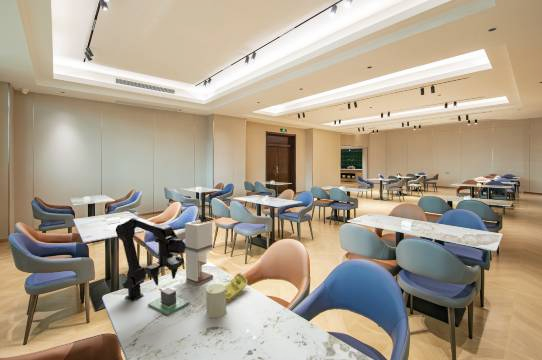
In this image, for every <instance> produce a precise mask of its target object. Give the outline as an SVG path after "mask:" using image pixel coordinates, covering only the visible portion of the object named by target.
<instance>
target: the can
mask: <svg viewBox="0 0 542 360" xmlns="http://www.w3.org/2000/svg"><path fill="white" fill-rule="evenodd" d="M225 286H226V285H224V284H219V283H218V284H216V283H215V284H211V285H209V286H207V287H206V289H205V290H206V316H207V317H208V318H213V319H216V318H221V317H224V316H225V315H226V314H227V302H226V287H225Z"/></svg>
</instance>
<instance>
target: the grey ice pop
mask: <svg viewBox="0 0 542 360" xmlns="http://www.w3.org/2000/svg"><path fill="white" fill-rule="evenodd" d="M158 290H159V291H160V298H161V303H163V304H165V305H167V306H171V305H173V304H175V303H176V297H177V290H174V289H171V288H170V287H166V288H164V289H162V288H159V289H158Z"/></svg>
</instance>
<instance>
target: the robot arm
mask: <svg viewBox="0 0 542 360" xmlns="http://www.w3.org/2000/svg"><path fill="white" fill-rule="evenodd" d="M136 228H139V229H141V230H144V231H146V232H148V233H152V234H153V236H154V237H156V239H155V240H154V242H155V243H158V252H157V255H156V256H157V257H158V261H157V264H158V265H155V264H150V265H148V266H145V267H144V266H143V267H142V266H141V265H140V262H139V259H138V253H137V250H136V245H135V241H134V237H135V235H136ZM115 233H116V236H117V238H118V239H119V240H121V242H122V245H123V250H124V254H125V257H126V263H127V267H128V269H127V274H126V280H125V281H124V282H123V284H122V287H123V288H124V289H126V290H127V292H128V293H127V295H126V296H125V297H124V298H125V299H126V300H128V301H131V302H132V301H134V300H135V301H136V300H138V299H139V298H141V297H144V294H143V293H142V292H141V284H143V283H144V282H145V280H146V278H147V275H149V276H151V278H152V280H153V282H154V284H155V286H159V275H160V270H161V269H164V268H167V269H168V270H169V271H170V272H171V277H172V279H173V280H174V279H175V278H176V274H177V272H178V270H179V269H180V268H181V266H182V265H183V264H185V259H184V258H183V257H181V256H178V255H177V256H174V254H179V255H181V254H184V253H185V252H186V245H185V242H184V240H183V239H182V238H178V235H177V234H176V233H175V231H174V229H173V227H172V226H171V225H168V224H158V223H156V222H152V221H149V220H147V219H144V218H142V217H140V216H136V217H131V218H130V219H129V220H127V221H125V222H123V223H121V224H118V225H117V226H116V227H115Z"/></svg>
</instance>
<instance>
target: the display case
mask: <svg viewBox="0 0 542 360" xmlns="http://www.w3.org/2000/svg"><path fill="white" fill-rule="evenodd" d="M184 239H185V240H184V241H185V242H184V243H185V245H186V248H185V277H186V278H185V279H186V280H185V282H188V283H190V284H193V285H195V286H201V285H202V284H204V283H206V282H208V281H210V280H212V279H214V275H213V274H210V273H208V272H205V271H203V267H202V266H205V265H206V264H207V253H208V252H211V251H212V250H213V222H212V221H208V222H204V223H202V220H201V219H198V220H194V221H189V222H185V223H184Z"/></svg>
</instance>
